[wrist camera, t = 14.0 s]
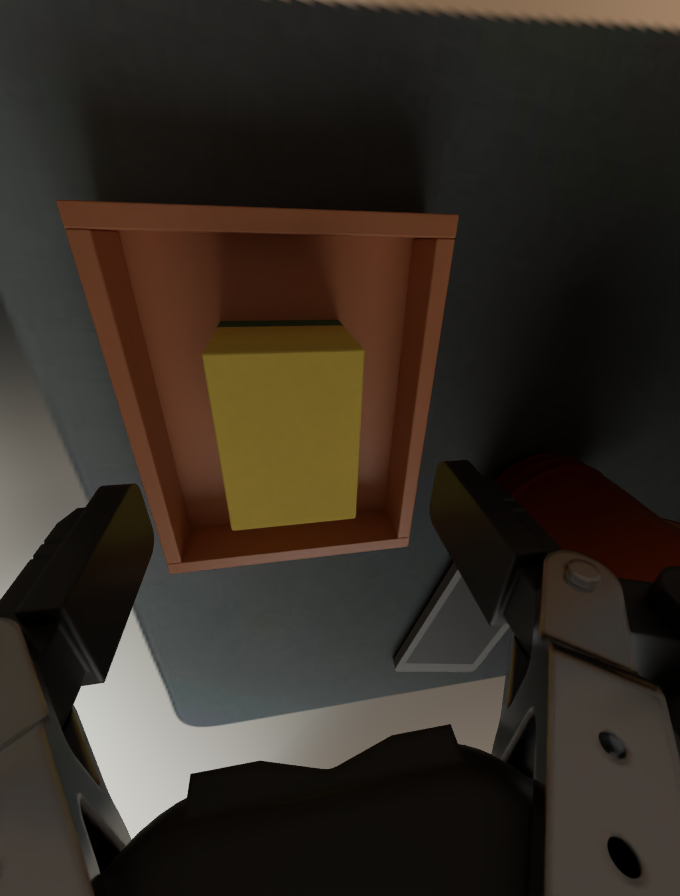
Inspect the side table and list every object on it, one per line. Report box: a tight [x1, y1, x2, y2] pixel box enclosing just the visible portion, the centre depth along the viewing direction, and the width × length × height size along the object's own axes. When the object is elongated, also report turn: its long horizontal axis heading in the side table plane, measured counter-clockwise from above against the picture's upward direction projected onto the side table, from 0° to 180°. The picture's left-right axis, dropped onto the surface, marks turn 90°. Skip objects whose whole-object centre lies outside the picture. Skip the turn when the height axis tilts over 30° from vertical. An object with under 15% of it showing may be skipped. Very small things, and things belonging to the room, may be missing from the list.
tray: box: [56, 200, 459, 574], centre depth 16 cm, size 15×12×3 cm
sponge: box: [202, 320, 365, 530], centre depth 15 cm, size 7×5×5 cm
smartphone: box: [393, 562, 510, 672], centre depth 29 cm, size 15×8×1 cm, turn 162°
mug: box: [494, 453, 680, 583], centre depth 20 cm, size 12×9×10 cm
